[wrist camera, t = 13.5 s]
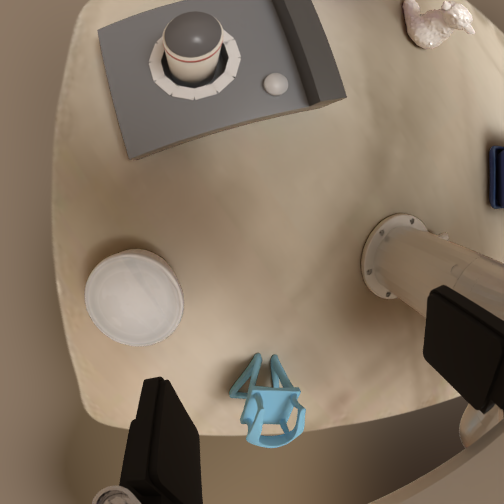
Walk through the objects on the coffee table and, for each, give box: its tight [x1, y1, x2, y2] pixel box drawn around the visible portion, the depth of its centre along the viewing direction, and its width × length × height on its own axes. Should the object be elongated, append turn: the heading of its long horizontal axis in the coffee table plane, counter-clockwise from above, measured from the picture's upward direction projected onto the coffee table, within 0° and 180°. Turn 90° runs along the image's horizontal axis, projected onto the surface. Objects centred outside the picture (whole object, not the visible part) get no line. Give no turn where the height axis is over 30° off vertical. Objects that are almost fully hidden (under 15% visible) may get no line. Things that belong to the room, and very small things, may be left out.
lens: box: [162, 11, 224, 89], centre depth 23 cm, size 5×5×9 cm
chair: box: [229, 353, 306, 448], centre depth 36 cm, size 8×8×12 cm
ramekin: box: [85, 249, 184, 346], centre depth 32 cm, size 11×11×5 cm
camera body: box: [98, 0, 347, 160], centre depth 25 cm, size 22×16×7 cm
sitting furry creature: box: [402, 0, 475, 49], centre depth 25 cm, size 10×9×12 cm
